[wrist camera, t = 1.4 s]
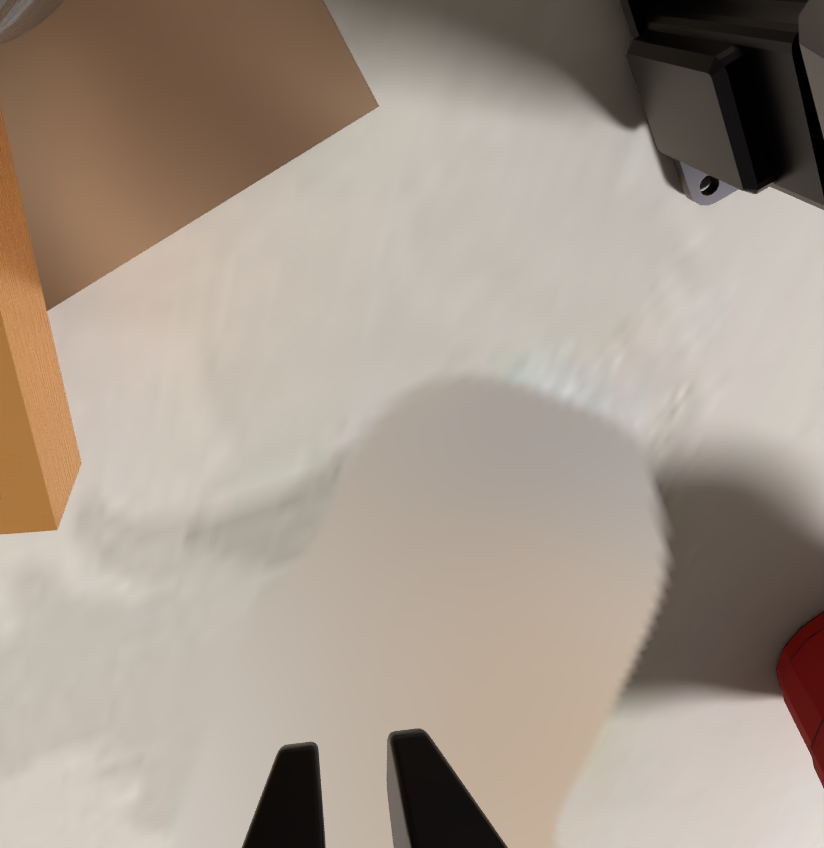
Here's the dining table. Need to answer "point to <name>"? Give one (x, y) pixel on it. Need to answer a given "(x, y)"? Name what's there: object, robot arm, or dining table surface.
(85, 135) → the base plate
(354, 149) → the dining table surface
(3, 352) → the wood-handled metal tool
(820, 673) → the plastic cup
